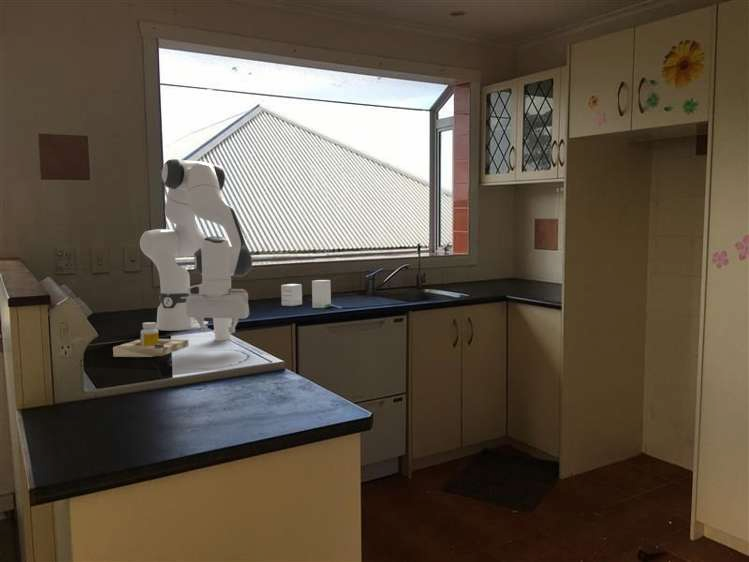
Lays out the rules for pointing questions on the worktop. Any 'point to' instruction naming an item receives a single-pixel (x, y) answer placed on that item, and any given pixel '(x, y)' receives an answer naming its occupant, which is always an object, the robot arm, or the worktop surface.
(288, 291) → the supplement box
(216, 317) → the robot arm
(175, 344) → the cream square tray
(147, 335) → the supplement bottle
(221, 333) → the drinking glass
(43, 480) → the worktop surface
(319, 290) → the skincare box
